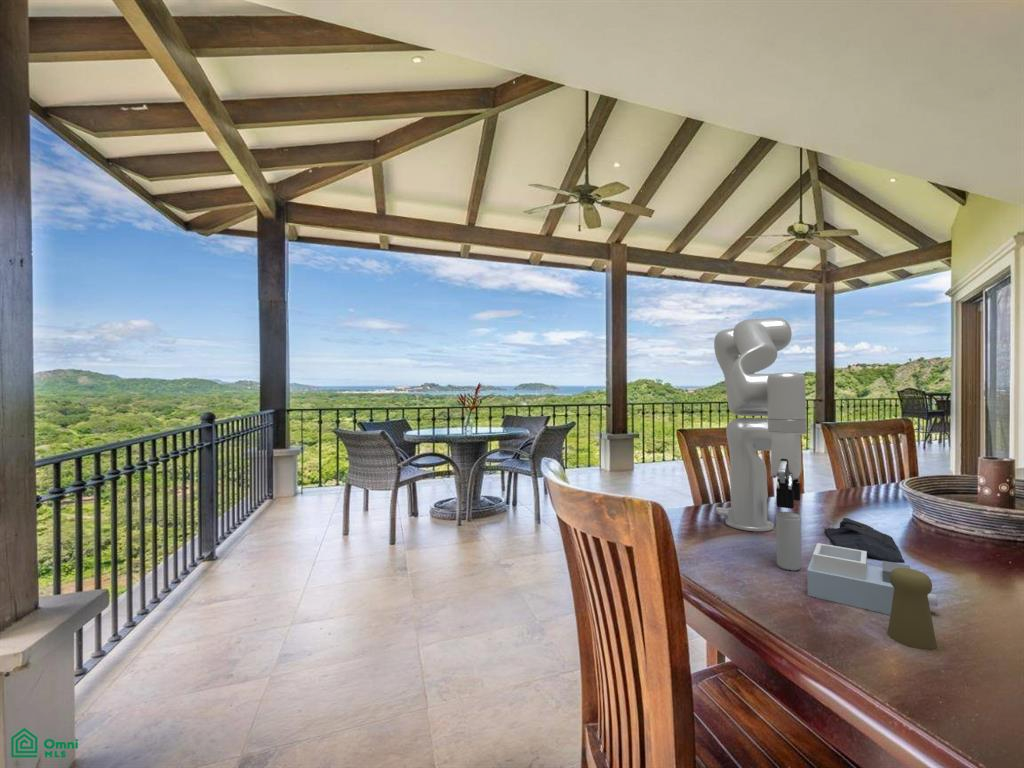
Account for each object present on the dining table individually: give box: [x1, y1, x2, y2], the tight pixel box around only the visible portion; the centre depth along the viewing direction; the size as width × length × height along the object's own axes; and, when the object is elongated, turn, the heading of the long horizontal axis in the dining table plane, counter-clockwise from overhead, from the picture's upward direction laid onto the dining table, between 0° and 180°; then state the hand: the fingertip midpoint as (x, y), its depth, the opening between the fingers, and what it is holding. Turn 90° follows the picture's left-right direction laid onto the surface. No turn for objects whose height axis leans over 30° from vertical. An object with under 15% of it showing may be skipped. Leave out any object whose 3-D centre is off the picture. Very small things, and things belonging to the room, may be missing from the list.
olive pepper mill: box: [887, 568, 938, 651], centre depth 74 cm, size 6×6×11 cm
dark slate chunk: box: [823, 517, 905, 564], centre depth 118 cm, size 15×22×5 cm
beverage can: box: [775, 511, 802, 572], centre depth 104 cm, size 5×5×12 cm
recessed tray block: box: [806, 542, 939, 616], centre depth 88 cm, size 19×10×8 cm, turn 51°
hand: (788, 503), depth 103 cm, fingers open, 9 cm apart
